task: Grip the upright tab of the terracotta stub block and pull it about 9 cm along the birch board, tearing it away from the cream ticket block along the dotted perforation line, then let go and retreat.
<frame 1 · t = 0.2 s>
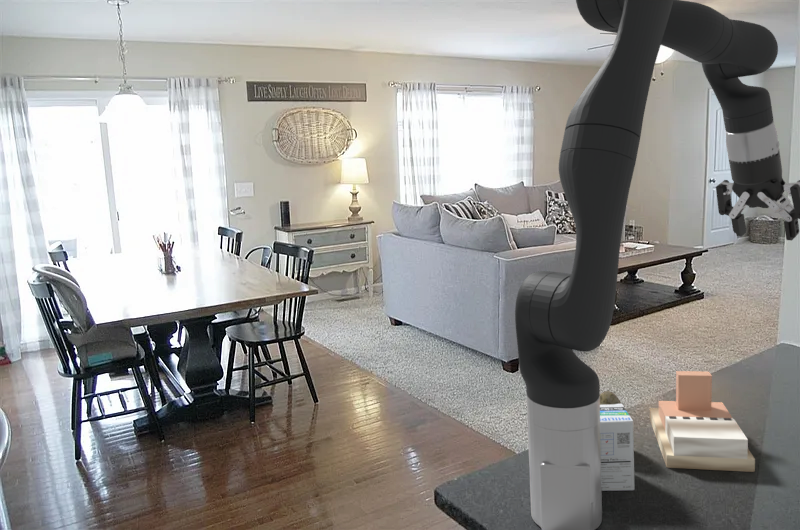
hand: (766, 236, 110), 31 cm above the kitchen counter, tool tilted 20°, fingers open, 8 cm apart
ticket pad: (696, 442, 101), on the kitchen counter
decorative egg: (608, 451, 101), on the kitchen counter
stub: (694, 398, 102), point 7 cm above the kitchen counter, slide at 0.0 cm
light bulb box: (592, 481, 92), on the kitchen counter
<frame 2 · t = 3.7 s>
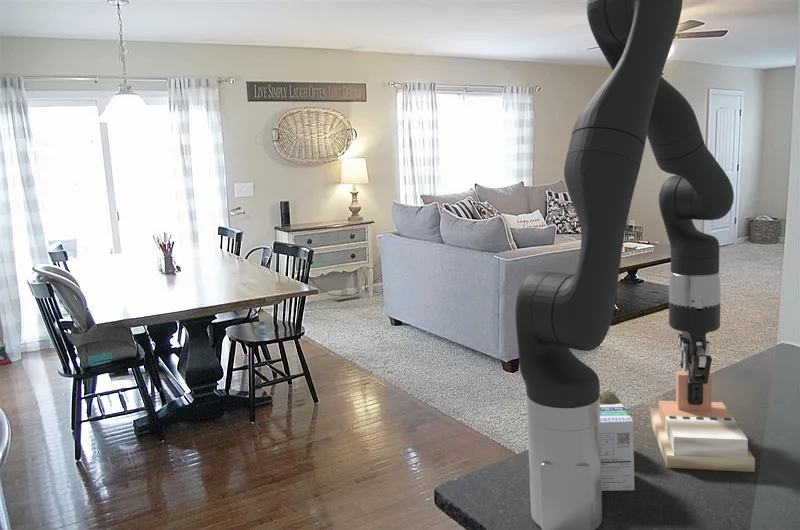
hand: (693, 400, 103), 6 cm above the kitchen counter, tool pointing down, fingers closed on stub, 2 cm apart
stub: (694, 398, 102), point 7 cm above the kitchen counter, slide at 0.0 cm, touching gripper
everything else where it was.
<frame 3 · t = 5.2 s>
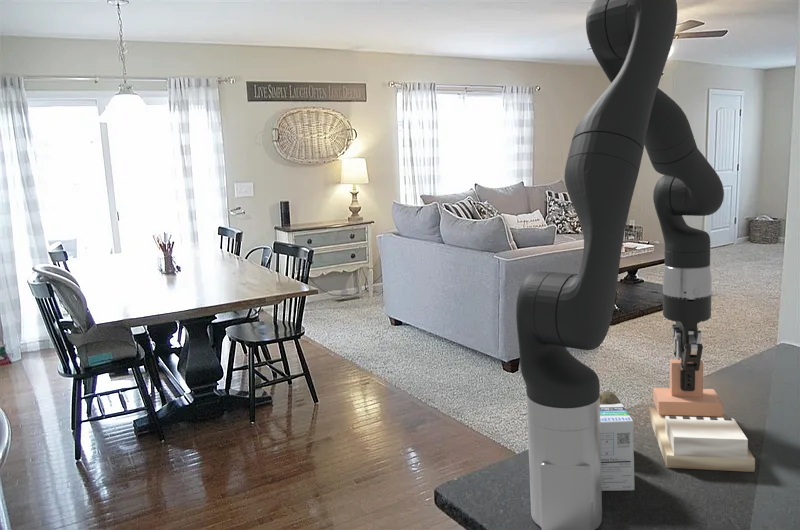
hand: (686, 387, 109), 6 cm above the kitchen counter, tool pointing down, fingers closed on stub, 2 cm apart
stub: (686, 385, 108), point 7 cm above the kitchen counter, slide at 6.1 cm, touching gripper
everything else where it was.
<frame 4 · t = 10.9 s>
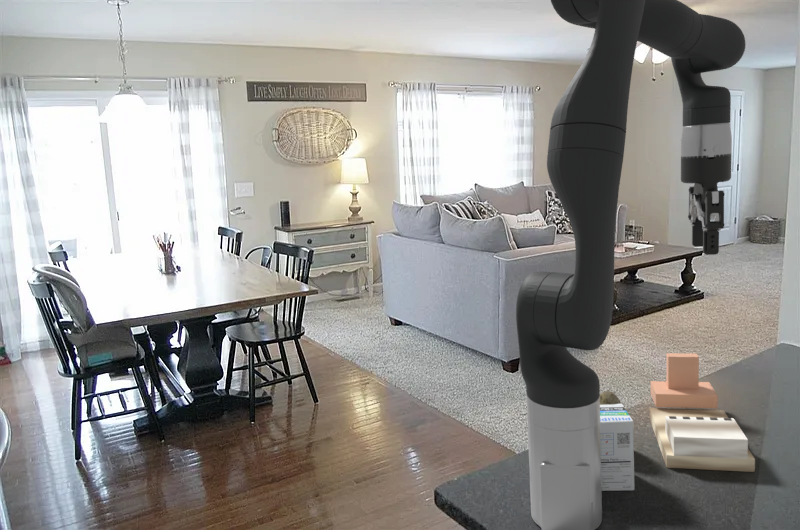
hand: (704, 250, 105), 30 cm above the kitchen counter, tool pointing down, fingers open, 8 cm apart
stub: (682, 378, 111), point 7 cm above the kitchen counter, slide at 9.5 cm
everything else where it was.
at the end: stub slide at 9.5 cm; the gripper is holding nothing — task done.
